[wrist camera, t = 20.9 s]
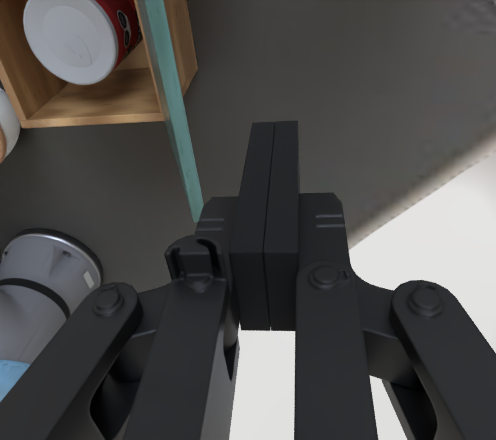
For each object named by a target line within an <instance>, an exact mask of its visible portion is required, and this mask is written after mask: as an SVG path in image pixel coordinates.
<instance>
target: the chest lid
mask: <svg viewBox="0 0 496 440" xmlns="http://www.w3.org/2000/svg"><path fill="white" fill-rule="evenodd" d="M137 4H138V8H139V13H140V17H141V21H142V26H143V30H144V34H145V38H146V43H147V47H148V51H149V56H150V60H151V64H152V69H153V73H154V77H155V82H156V86H157V90H158V95H159V99H160V103H161V108H162V112H163V116H164V121H165V125H166V128H167V132H168V135H169V139H170V142H171V146H172V149H173V153H174V156H175V160H176V163H177V167H178V170H179V174H180V177H181V181H182V184H183V188H184V191H185V195H186V198H187V202H188V205H189V209H190V212H191V216H192V219H193V222H194V223H195V222H199V218H200V214H201V211H202V208H203V207H204V204H203V199H202V194H201V189H200V184H199V179H198V174H197V169H196V164H195V159H194V153H193V148H192V143H191V138H190V133H189V128H188V123H187V118H186V113H185V108H184V103H183V98H182V92H181V87H180V82H179V77H178V72H177V67H176V62H175V57H174V52H173V47H172V42H171V37H170V31H169V26H168V21H167V16H166V11H165V6H164V1H163V0H137Z"/></svg>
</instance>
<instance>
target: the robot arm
mask: <svg viewBox="0 0 496 440" xmlns="http://www.w3.org/2000/svg"><path fill="white" fill-rule="evenodd" d="M164 255H165V258H166V262H167V265H168V269H169V272H170V276H171V279H172V281H171V282H170V283H169V284H167V285H165V286H162V287H159V288H156V289H153V290H149V291H145V292H141V293H137V292H136V290H135V289H134V288H133V287H132V286H131V285H128V284H126V283H116V282H114V283H110V284H106V285H102V286H101V287H100V285H101V283H102V280H103V271H102V267H101V265H100V263H99V261H98V259H97V258H96V256H95V255H94V254H93V253H92V252H91V251H90V250H89V249H88V248H87V247H86V246H85V245H83V244H82V243H81V242H79V241H77V240H76V239H74V238H72V237H70V236H68V235H65V234H63V233H60V232H57V231H52V230H46V229H32V230H27V231H23V232H21V233H19V234H17V235H16V236H15V237H14V238H13V239H12V240H11V241H10V243H9V244H8V245H7V246H6V248H5V250H4V253H3V255H2V259H1V261H0V440H229V434H230V425H231V417H232V409H233V400H234V392H235V383H236V375H237V367H238V358H239V350H240V348H239V340H238V328H239V321H240V325H241V330H264V331H265V330H266V331H270V328H271V330H272V331H295V419H294V420H295V422H294V423H295V424H294V431H295V432H294V440H378V435H377V427H376V420H375V414H374V406H373V399H372V392H371V384H370V377H369V375H371V376H374V377H377V378H380V379H382V382H383V384H384V387H385V389H386V392H387V394H388V396H389V398H390V401H391V403H392V405H393V408H394V410H395V412H396V415H397V417H398V419H399V421H400V423H401V426H402V428H403V431H404V433H405V435H406V437H407V440H496V353H495V352H494V350H493V349H492V348H491V346H490V345H489V343H488V342H487V341H486V339H485V338H484V336H483V335H482V333H481V332H480V331H479V329H478V328H477V327H476V325H475V324H474V322H473V321H472V319H471V318H470V317H469V315H468V314H467V312H466V311H465V310H464V308H463V307H462V306H461V304H460V303H459V302H458V300H457V298H456V297H455V296H454V295H453V294H452V293H450V291H449V290H448V289H446V288H444V287H442V286H440V285H438V284H436V283H433V282H429V281H424V280H417V281H408V282H406V283H403V284H400V285H399V286H398V287H397V288H396V289H395V290H394V291H393V290H388V289H385V288H380V287H377V286H374V285H371V284H369V283H367V282H365V281H364V280H362V279H361V278H360V277H358V276H357V275H356V274H355V272H354V271H353V269H352V267H351V264H350V258H349V251H348V243H347V236H346V229H345V221H344V214H343V207H342V202H341V201H340V200H339V199H338V198H337V196H336V195H335V194H334V193H302V194H300V174H299V140H298V121H280V122H261V123H252V128H251V134H250V139H249V144H248V150H247V155H246V160H245V166H244V171H243V176H242V182H241V187H240V192H239V196H238V197H212V198H211V199H210V200H209V201H208V202H207V203H206V204H205V205H204V207H203V208H202V211H201V214H200V218H199V222H198V224H197V228H196V231H195V235H190V236H186V237H183V238H181V239H179V240H177V241H175V242H174V243H173V244H171V245H170V246H169V247H168V249H167V250H166V252H165V253H164Z"/></svg>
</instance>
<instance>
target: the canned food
mask: <svg viewBox="0 0 496 440" xmlns="http://www.w3.org/2000/svg"><path fill="white" fill-rule="evenodd" d="M23 24H24V31H25V35H26V38H27V41H28V43H29V45H30V47H31V50H32V51H33V53H34V54H35V56H36V57H37V59H38V60H39V61H40V62H41V63H42V64H43V66H44V67H46V68H47V69H48V70H49V71H50V72H51V73H53V74H54V75H56V76H57V77H59V78H60V79H63V80H65V81H67V82H70V83H74V84H78V85H89V84H94V83H97V82H99V81H101V80H103V79H104V78H105V77H107V76H108V75H109V74H110V73H111V72H113V71H114V70H115V68H116V67H117V66H118V65H119V64H120V63H121V62H122V61H123V60H124V59H125V58H126V57H127V56H128V55H129V54H130V53H131V52H132V51H133V50H134V48H135V47H136V46H137V45H138V44H139V43H140V42H141V41H142V40H143V36H142V32H141V28H140V23H139V19H138V15H137V11H136V6H135V2H134V0H28V2H27V4H26V7H25V10H24V17H23Z"/></svg>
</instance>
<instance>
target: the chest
mask: <svg viewBox="0 0 496 440" xmlns="http://www.w3.org/2000/svg"><path fill="white" fill-rule="evenodd" d="M163 1H164V6H165V11H166V16H167V21H168V26H169V31H170V37H171V42H172V47H173V52H174V57H175V62H176V67H177V72H178V77H179V82H180V87H181V92H182V98H183V96H184V94H185V92H186V91H187V89H188V87H189V85H190V83H191V81H192V79H193V77H194V75H195V73H196V71H197V70H198V66H197V60H196V54H195V48H194V42H193V36H192V30H191V24H190V18H189V12H188V6H187V0H163ZM27 2H28V0H0V80H1V82H2V84H3V86H4V88H5V91H6V93H7V95H8V97H9V100H10V102H11V104H12V106H13V108H14V111H15V113H16V115H17V117H18V120H20V124H21V126H22V128H40V127H58V126H77V125H95V124H114V123H132V122H151V121H164V116H163V112H162V108H161V103H160V99H159V95H158V90H157V86H156V82H155V77H154V73H153V69H152V64H151V60H150V56H149V51H148V47H147V43H146V38H145V34H144V30H143V26H142V21H141V17H140V13H139V8H138V4H137V0H134V2H135V6H136V11H137V15H138V19H139V23H140V28H141V32H142V36H143V40H142V41H141V42H140V43H139V44H138V45H137V46H136V47H135V48H134V50H133V51H132V52H131V53H130V54H129V55H128V56H127V57H126V58H125V59H124V60H123V61H122V62H121V63H120V64H119V65H118V66H117V67H116V68H115V70H114V71H113V72H111V73H110V74H109V75H108V76H107V77H105V78H104V79H103V80H101V81H99V82H97V83H94V84H89V85H78V84H74V83H70V82H67V81H65V80H63V79H60V78H59V77H57V76H56V75H54V74H53V73H51V72H50V71H49V70H48V69H47V68H46V67H44V66H43V64H42V63H41V62H40V61H39V60H38V59H37V57H36V56H35V54H34V53H33V51H32V50H31V47H30V45H29V43H28V41H27V38H26V35H25V31H24V24H23V17H24V10H25V7H26V4H27Z"/></svg>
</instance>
